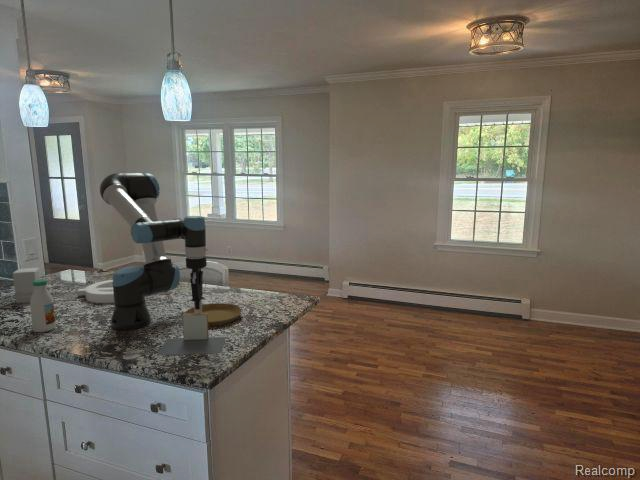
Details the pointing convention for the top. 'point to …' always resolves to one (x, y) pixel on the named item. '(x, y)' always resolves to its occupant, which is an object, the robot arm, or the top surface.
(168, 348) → the mat
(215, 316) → the plant saucer
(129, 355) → the top surface
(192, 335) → the tile
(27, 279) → the supplement box
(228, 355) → the top surface
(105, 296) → the ring with crossbar
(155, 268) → the robot arm
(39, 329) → the milk bottle
